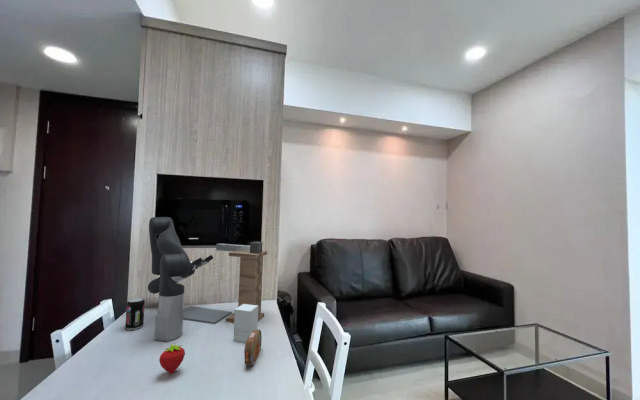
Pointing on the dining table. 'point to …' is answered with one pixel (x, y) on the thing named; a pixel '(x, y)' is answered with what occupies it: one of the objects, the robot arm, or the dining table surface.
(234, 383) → the dining table surface
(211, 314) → the charcoal mat
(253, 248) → the steel bar
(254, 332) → the tin
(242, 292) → the walnut shelf stand
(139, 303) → the beverage can
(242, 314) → the supplement box
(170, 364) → the strawberry
